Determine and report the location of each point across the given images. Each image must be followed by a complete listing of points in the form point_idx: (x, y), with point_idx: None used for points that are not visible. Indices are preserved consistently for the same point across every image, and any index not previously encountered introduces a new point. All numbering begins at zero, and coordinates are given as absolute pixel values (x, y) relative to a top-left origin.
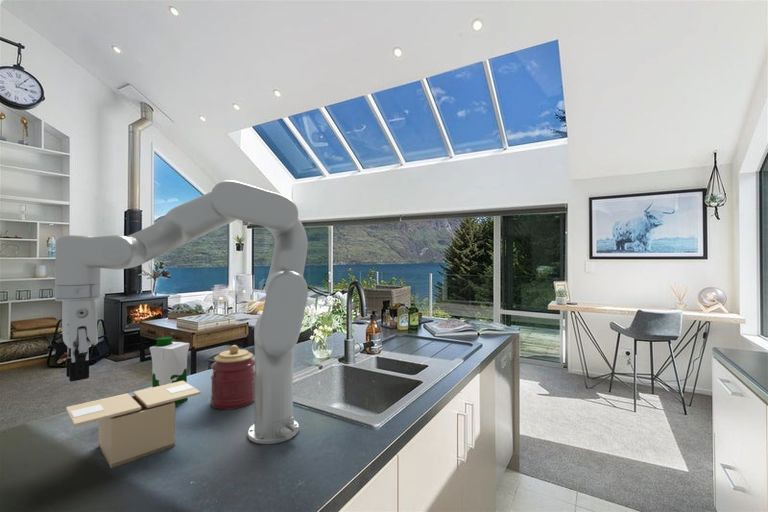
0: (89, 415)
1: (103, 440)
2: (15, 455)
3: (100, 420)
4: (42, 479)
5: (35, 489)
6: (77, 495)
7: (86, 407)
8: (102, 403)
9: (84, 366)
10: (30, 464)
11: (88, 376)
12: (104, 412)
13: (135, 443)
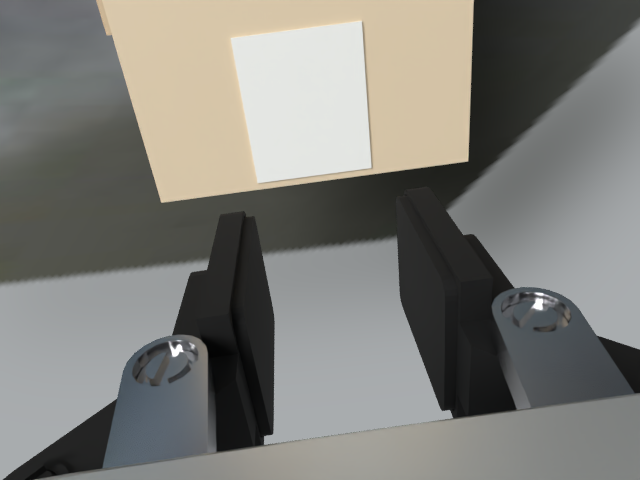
0: (395, 98)
1: None
2: (87, 255)
3: None
4: None
5: (382, 187)
6: (514, 88)
7: (247, 111)
8: (216, 23)
9: (507, 280)
10: (191, 213)
11: (428, 192)
12: (406, 22)
13: None
